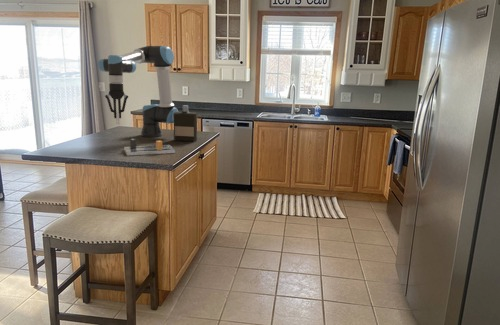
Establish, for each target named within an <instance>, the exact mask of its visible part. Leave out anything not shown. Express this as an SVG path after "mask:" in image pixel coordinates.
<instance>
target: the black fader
mask: <svg viewBox="0 0 500 325" xmlns="http://www.w3.org/2000/svg"><path fill="white" fill-rule="evenodd" d="M129 144H130V145H129V147H131V148H136V146H137V139H136V138H130V139H129Z"/></svg>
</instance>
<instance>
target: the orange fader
mask: <svg viewBox="0 0 500 325" xmlns="http://www.w3.org/2000/svg"><path fill="white" fill-rule="evenodd" d="M162 145H163V141H162V140H155V146H156V149H157V150H162Z"/></svg>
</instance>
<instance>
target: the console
mask: <svg viewBox="0 0 500 325" xmlns="http://www.w3.org/2000/svg"><path fill="white" fill-rule="evenodd" d="M123 150H124V153H125V155H126V156H127V157H128V156H147V155H148V156H149V155H166V154H176V150H175V148H173V146H171V144H162V150H157V149H156V145H138V146H137V145H136V148H131V147H130V146H124V147H123Z"/></svg>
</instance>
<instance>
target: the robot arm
mask: <svg viewBox="0 0 500 325" xmlns="http://www.w3.org/2000/svg"><path fill="white" fill-rule="evenodd" d="M174 60H175V55H174V51H173V50H172V49H171V48H170V46H166V45H146V46H142V47H138V48H135V49H134V50H133V51H130V52H127V53H124V54H120V55H116V54H110V55H108V56H107V58H100V59H99V60H98V62H97V66H98V70H99V71H101V72H106V73H108V82H109V84H108V86H109V89H108V90H109V91H108V93H107V94H105V95H104V97H105V98H106V101H107V103H108V107H109V110H110V112H111V113H113V118H114V119H115V120H116V125H120V119H122V113H124V112H125V108H126V105H127V100H128V98H129V96H128V95H126V93H125V91H124V79H123V78H124V76H123V74H124V73H125V74H126V73H127V74H130V73H135V71H136V69H137V64H153V67H154V68H155V69H156V76H157V86H158V97H159V104H157V103H155V104H154V103H153V104H145V105H143V106H142V111H141V112H142V127H141V132H140V136H142V137H145V138H160V137H162V134H163V133H162V130H161V127H160V123H162V124H174V113H175V112H179V110H178V108H177V107H176V106H175V104H174V102H173V97H172V95H173V94H172V86H171V75H170V74H171V73H170V68H171V67H172V64H173V63H174ZM110 97H111V99H112V101H113V102H111V100H110ZM122 98H123V102H121V99H122ZM117 102H118V103H117ZM112 103H113V107H112ZM121 104H122V105H121ZM117 106H118V107H117ZM117 108H118V109H117Z"/></svg>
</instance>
